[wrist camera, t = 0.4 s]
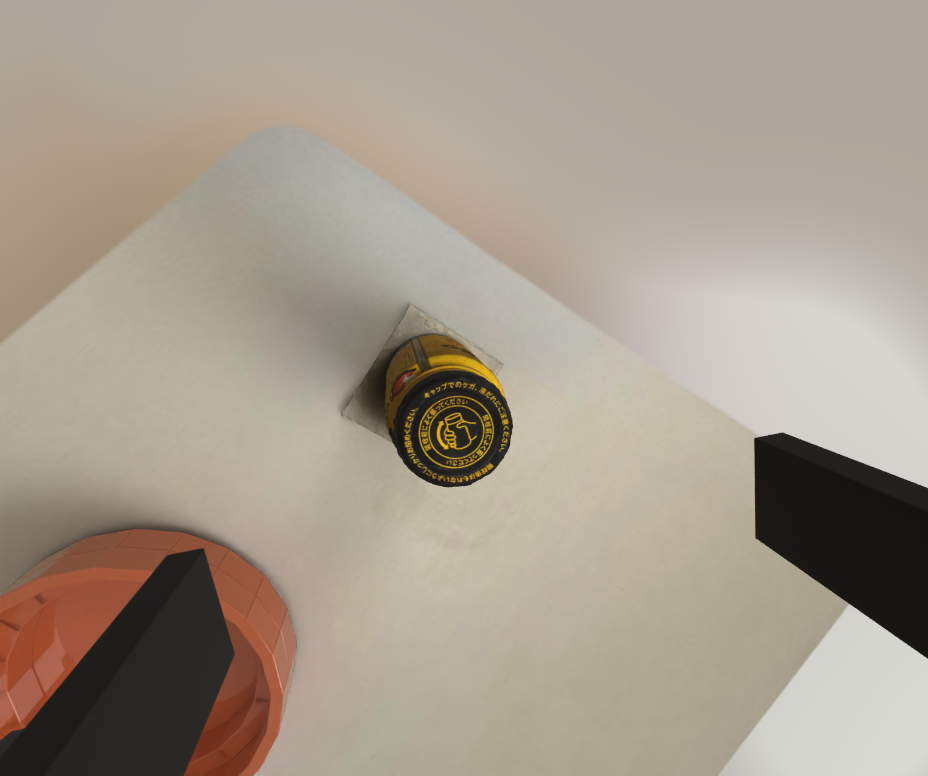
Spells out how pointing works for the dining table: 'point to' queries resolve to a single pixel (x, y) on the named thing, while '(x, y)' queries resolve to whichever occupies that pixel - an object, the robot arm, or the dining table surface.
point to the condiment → (436, 403)
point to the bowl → (105, 595)
